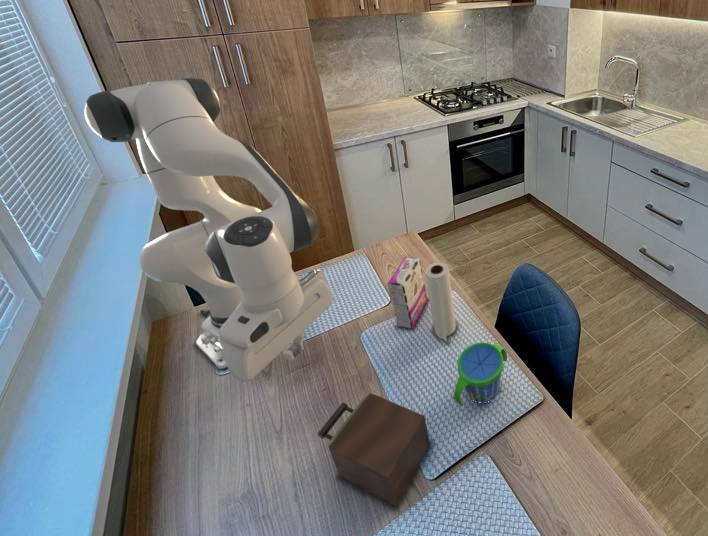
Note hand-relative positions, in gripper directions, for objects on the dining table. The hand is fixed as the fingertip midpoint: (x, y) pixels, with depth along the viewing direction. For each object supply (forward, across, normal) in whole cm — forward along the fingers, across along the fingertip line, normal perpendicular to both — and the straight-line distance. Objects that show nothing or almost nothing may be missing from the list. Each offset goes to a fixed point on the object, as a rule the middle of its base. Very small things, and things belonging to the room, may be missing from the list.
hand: (295, 353), depth 79 cm
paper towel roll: (+24, -33, +11) cm, 42 cm away
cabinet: (+24, 0, +17) cm, 29 cm away
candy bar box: (+24, -35, -1) cm, 43 cm away
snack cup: (+24, -21, +29) cm, 43 cm away
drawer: (+23, 0, +13) cm, 26 cm away
